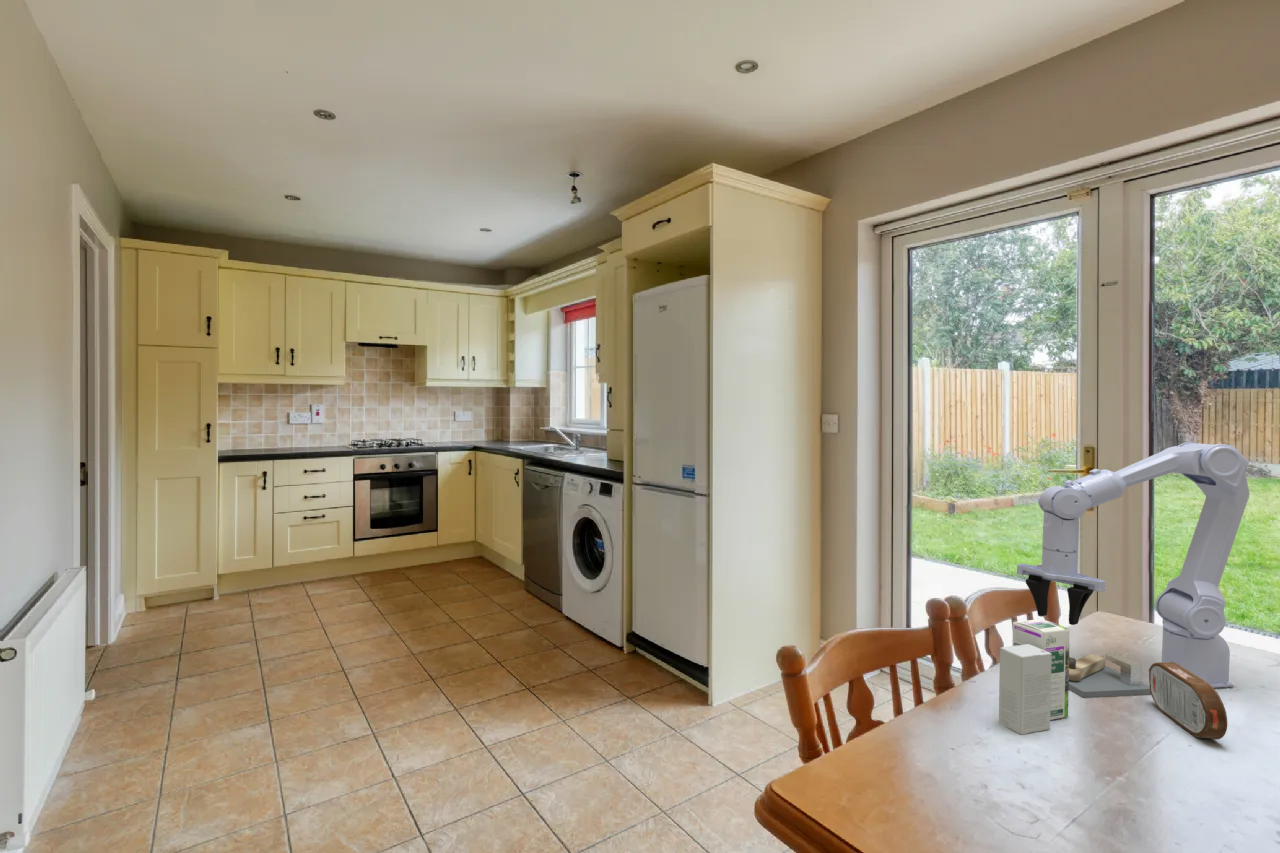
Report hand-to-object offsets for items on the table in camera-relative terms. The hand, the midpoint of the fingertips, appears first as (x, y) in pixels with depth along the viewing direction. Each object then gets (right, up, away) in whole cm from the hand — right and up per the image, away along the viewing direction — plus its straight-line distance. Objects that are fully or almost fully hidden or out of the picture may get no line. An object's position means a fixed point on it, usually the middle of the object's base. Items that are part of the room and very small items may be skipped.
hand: (1057, 619), depth 120 cm
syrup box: (-15, -10, -18) cm, 26 cm away
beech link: (+1, -8, -5) cm, 10 cm away
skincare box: (-21, -10, -23) cm, 32 cm away
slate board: (+2, -10, -6) cm, 12 cm away
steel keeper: (+7, -9, -7) cm, 13 cm away
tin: (+6, -10, -21) cm, 24 cm away
